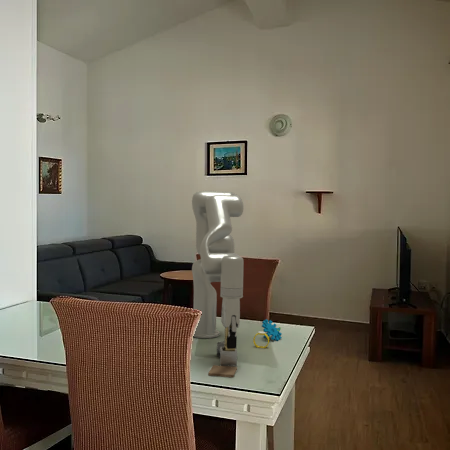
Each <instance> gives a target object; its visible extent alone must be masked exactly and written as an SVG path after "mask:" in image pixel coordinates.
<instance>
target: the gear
mask: <svg viewBox="0 0 450 450" xmlns="http://www.w3.org/2000/svg"><path fill="white" fill-rule="evenodd" d="M261 323H262V324H261V327H262V328H263V331H262V332H265V334H267V335H268V337H269V338H270V339H271V340H273V341H274V340H275V341H276V342H279V340H281V339H282V334H283V333H282V332H281V329H282V327H280V326H278V325H277V324H276V323H273V321H272V320H271V319H270V320H268V319H267V318H266V319H264V320H263V321H261ZM277 326H278V327H277ZM270 336H271V337H270ZM262 337H263V338H264V339H267V337H266V336H265V335H262Z"/></svg>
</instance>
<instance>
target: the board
mask: <svg viewBox="0 0 450 450" xmlns="http://www.w3.org/2000/svg"><path fill="white" fill-rule="evenodd" d="M237 370H238V366H221V365H217V364H216V365H215V364H213V365H212V367H211V368H210V369H209V371H208V373H207V376H209V377H224V378H234V377H235V374H236V373H237V372H238V371H237Z"/></svg>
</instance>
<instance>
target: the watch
mask: <svg viewBox="0 0 450 450" xmlns="http://www.w3.org/2000/svg"><path fill="white" fill-rule="evenodd" d="M258 335H260V336H264V335H265V336H266V339H267V344H266V345H265V346H262V345H261V346H260V345H258V344H257V343H256V337H257V336H258ZM252 339H253V340H252V341H253V345H254V346H255V347H256V348H257V349H258V348H260V349H266V348H267V347H268V346H269V344H270V336H269V337H268V335H267V334H266V332H264V331H258V332H257V333H256V334H255V335H254V336H253V338H252Z"/></svg>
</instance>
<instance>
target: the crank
mask: <svg viewBox="0 0 450 450" xmlns="http://www.w3.org/2000/svg"><path fill="white" fill-rule="evenodd" d="M216 356H217V357H218V358H219V364H220V365H219V366H231V367H238V349H237V348H236V349H235V351H224V340H222V341H218V342H217V343H216Z"/></svg>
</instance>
